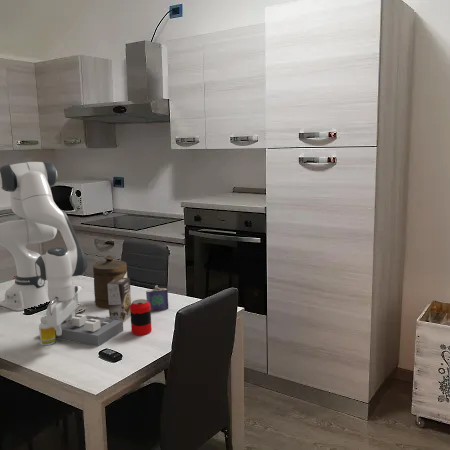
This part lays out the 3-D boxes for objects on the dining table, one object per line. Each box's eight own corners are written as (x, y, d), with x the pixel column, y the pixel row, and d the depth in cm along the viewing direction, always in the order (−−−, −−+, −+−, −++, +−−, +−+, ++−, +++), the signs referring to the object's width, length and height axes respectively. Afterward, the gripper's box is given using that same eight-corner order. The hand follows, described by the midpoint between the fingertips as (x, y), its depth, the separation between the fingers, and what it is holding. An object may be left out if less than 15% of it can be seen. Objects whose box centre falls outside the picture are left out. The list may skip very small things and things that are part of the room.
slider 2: (84, 330, 178) (84, 321, 177) (91, 326, 181) (91, 317, 181) (93, 331, 176) (92, 323, 175) (100, 327, 180) (100, 319, 179)
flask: (147, 311, 208) (146, 287, 206) (146, 309, 210) (145, 285, 209) (168, 309, 210) (167, 285, 208) (167, 307, 213) (166, 283, 211)
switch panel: (31, 333, 187) (30, 323, 186) (59, 320, 201) (58, 310, 200) (98, 346, 174) (97, 335, 173) (123, 330, 188) (122, 320, 187)
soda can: (131, 336, 182) (129, 305, 180) (131, 328, 190) (129, 299, 187) (152, 334, 184) (150, 304, 182) (151, 326, 191) (149, 297, 189)
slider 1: (71, 325, 183) (70, 316, 182) (78, 321, 186) (77, 313, 186) (79, 326, 181) (79, 318, 180) (86, 322, 185) (86, 314, 184)
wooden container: (132, 305, 217) (130, 257, 213) (99, 311, 210) (95, 261, 206) (123, 295, 230) (121, 250, 226) (92, 301, 223) (88, 254, 219)
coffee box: (124, 322, 196) (121, 284, 193) (109, 321, 197) (106, 283, 195) (132, 314, 205) (130, 277, 202) (118, 313, 206) (116, 277, 203)
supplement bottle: (38, 342, 179) (35, 318, 177) (52, 338, 182) (49, 314, 181) (44, 347, 175) (42, 321, 173) (58, 342, 179) (56, 317, 177)
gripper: (58, 303, 164) (61, 341, 166) (79, 284, 184) (82, 319, 186) (40, 303, 164) (43, 341, 167) (63, 284, 184) (66, 319, 187)
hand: (64, 329), depth 177 cm, fingers open, 8 cm apart
